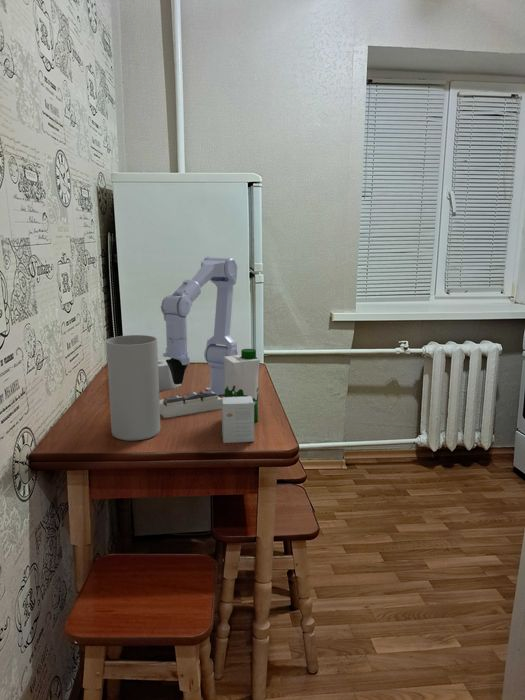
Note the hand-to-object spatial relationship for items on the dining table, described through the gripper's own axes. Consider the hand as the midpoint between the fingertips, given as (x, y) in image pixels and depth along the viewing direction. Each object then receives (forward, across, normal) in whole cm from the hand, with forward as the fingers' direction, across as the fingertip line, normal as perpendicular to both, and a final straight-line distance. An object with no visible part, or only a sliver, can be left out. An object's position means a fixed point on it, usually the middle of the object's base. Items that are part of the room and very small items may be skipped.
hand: (178, 383), depth 150 cm
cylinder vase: (+9, +9, -15) cm, 20 cm away
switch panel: (+9, -2, +6) cm, 11 cm away
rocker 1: (+5, 0, -2) cm, 5 cm away
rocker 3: (+5, 0, +9) cm, 10 cm away
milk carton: (+9, +13, +14) cm, 21 cm away
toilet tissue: (+9, -27, +4) cm, 29 cm away
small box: (+9, +25, +7) cm, 28 cm away
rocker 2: (+5, 0, +4) cm, 6 cm away
